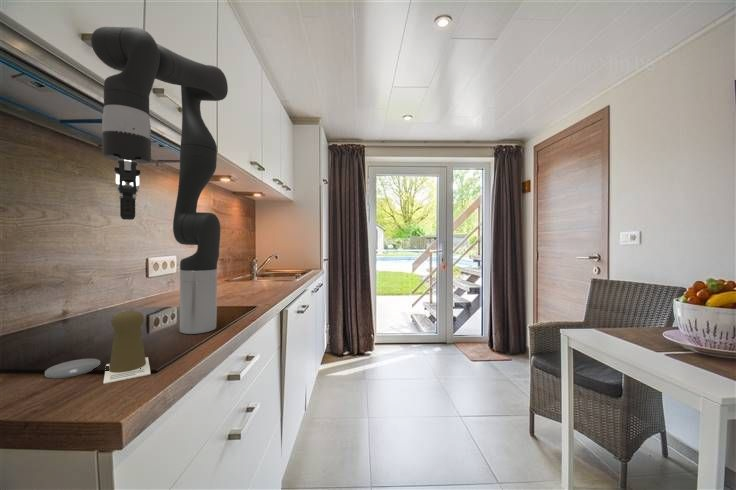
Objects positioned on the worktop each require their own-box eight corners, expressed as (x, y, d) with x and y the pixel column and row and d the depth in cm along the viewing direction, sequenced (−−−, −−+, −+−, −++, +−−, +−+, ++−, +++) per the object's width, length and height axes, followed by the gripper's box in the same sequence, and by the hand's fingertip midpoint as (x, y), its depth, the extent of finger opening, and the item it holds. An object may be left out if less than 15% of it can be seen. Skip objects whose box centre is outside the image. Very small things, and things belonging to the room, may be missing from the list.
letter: (106, 365, 65) (106, 364, 65) (148, 357, 69) (148, 356, 69) (103, 384, 57) (103, 382, 57) (150, 374, 61) (150, 373, 61)
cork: (102, 368, 63) (102, 313, 62) (136, 358, 68) (136, 307, 68) (118, 375, 60) (118, 317, 60) (152, 364, 65) (152, 311, 65)
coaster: (49, 367, 63) (49, 364, 63) (101, 358, 68) (101, 355, 68) (40, 382, 57) (40, 379, 57) (98, 371, 62) (98, 368, 62)
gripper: (153, 130, 58) (153, 218, 58) (148, 146, 69) (149, 220, 70) (99, 120, 53) (100, 216, 54) (104, 139, 65) (104, 219, 65)
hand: (127, 218), depth 62 cm, fingers open, 8 cm apart
